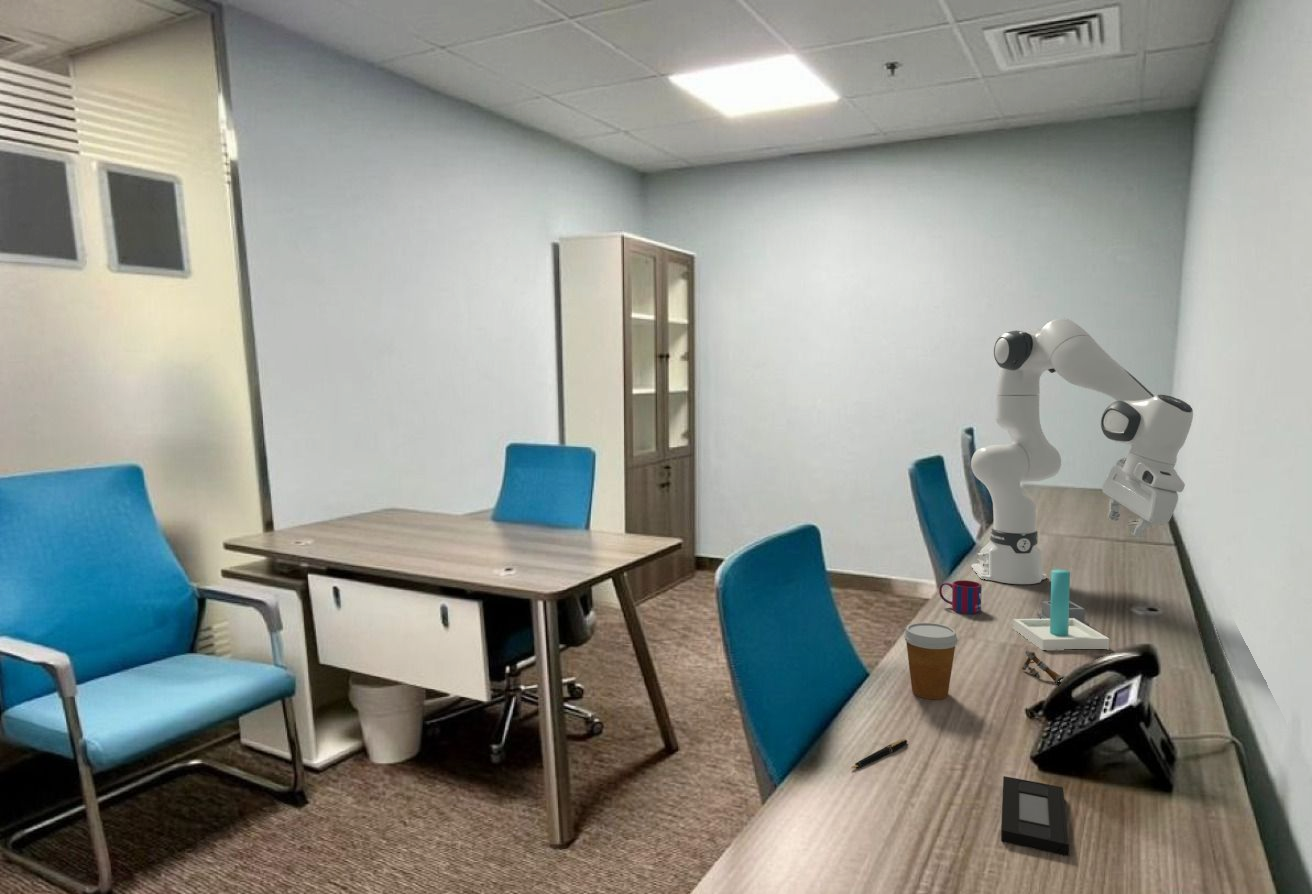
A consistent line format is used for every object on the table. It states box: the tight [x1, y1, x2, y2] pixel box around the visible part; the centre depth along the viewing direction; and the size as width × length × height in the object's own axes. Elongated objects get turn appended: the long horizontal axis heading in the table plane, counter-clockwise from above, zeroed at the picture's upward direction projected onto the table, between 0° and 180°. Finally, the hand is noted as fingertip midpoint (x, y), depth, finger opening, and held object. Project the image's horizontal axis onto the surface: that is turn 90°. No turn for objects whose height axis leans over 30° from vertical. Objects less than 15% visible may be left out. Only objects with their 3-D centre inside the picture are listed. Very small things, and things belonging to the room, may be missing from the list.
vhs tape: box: [1000, 776, 1070, 857], centre depth 100 cm, size 8×14×2 cm, turn 155°
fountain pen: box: [849, 738, 908, 769], centre depth 118 cm, size 14×1×2 cm, turn 127°
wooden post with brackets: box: [1021, 650, 1066, 685], centre depth 147 cm, size 2×8×4 cm, turn 29°
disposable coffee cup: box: [903, 622, 959, 700], centre depth 141 cm, size 10×10×12 cm
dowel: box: [1050, 569, 1071, 636], centre depth 168 cm, size 4×4×14 cm
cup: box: [938, 579, 983, 615], centre depth 191 cm, size 7×10×7 cm
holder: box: [1037, 600, 1090, 627], centre depth 180 cm, size 8×8×4 cm
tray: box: [1012, 618, 1110, 651], centre depth 168 cm, size 14×14×2 cm
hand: (1123, 527), depth 170 cm, fingers open, 8 cm apart
